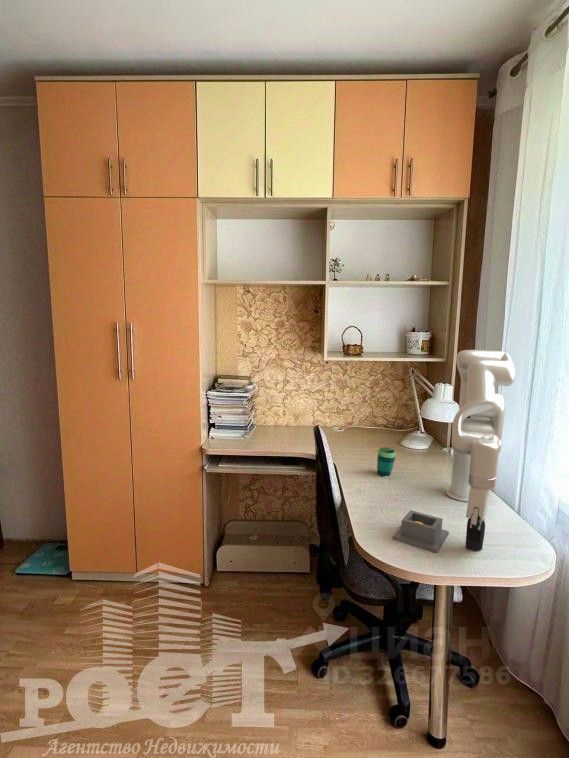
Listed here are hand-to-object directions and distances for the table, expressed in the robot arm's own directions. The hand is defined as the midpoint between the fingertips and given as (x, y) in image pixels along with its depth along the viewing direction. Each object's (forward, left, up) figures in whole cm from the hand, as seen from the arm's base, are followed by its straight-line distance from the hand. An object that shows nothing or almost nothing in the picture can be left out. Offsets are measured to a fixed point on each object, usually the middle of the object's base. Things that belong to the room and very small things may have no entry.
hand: (476, 535), depth 133 cm
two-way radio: (0, 0, -5) cm, 5 cm away
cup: (-42, -45, -5) cm, 62 cm away
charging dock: (+2, -16, -4) cm, 17 cm away
